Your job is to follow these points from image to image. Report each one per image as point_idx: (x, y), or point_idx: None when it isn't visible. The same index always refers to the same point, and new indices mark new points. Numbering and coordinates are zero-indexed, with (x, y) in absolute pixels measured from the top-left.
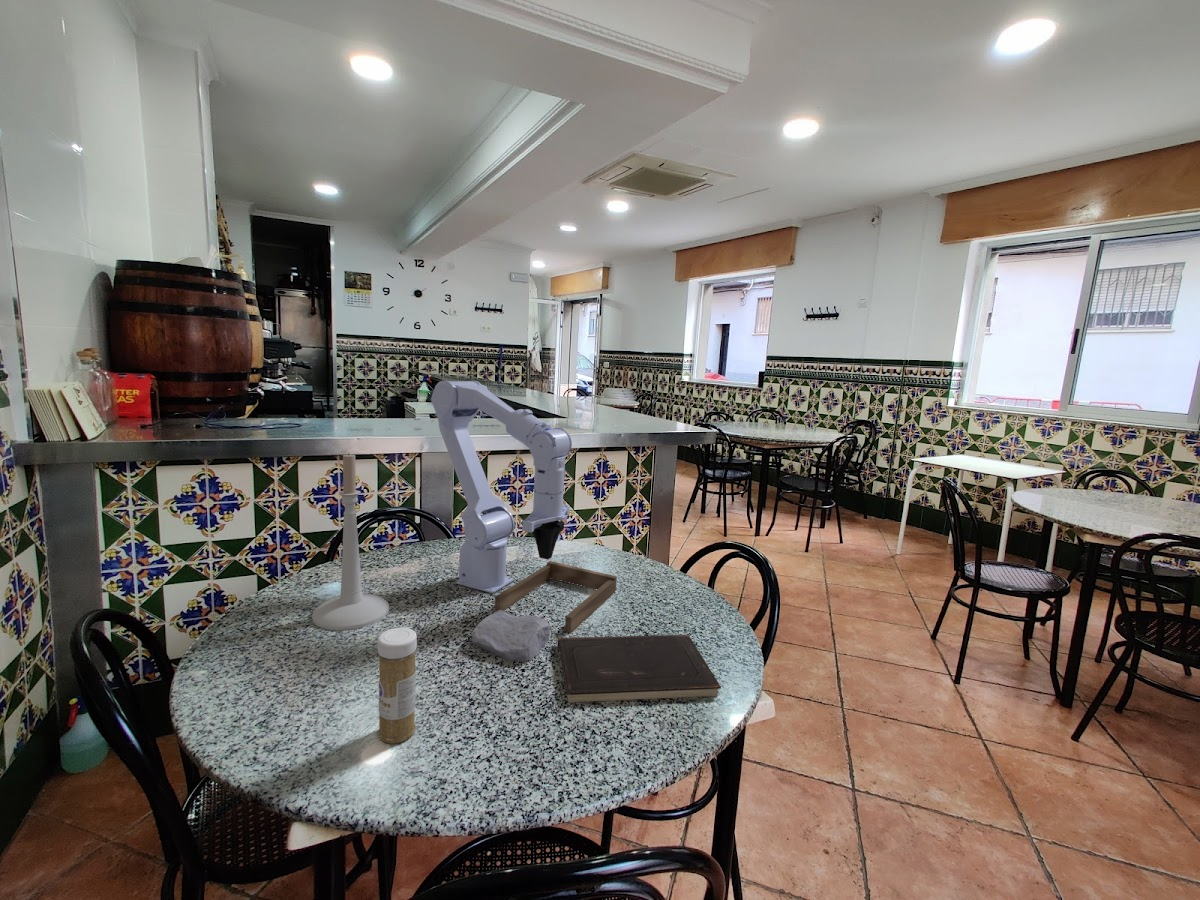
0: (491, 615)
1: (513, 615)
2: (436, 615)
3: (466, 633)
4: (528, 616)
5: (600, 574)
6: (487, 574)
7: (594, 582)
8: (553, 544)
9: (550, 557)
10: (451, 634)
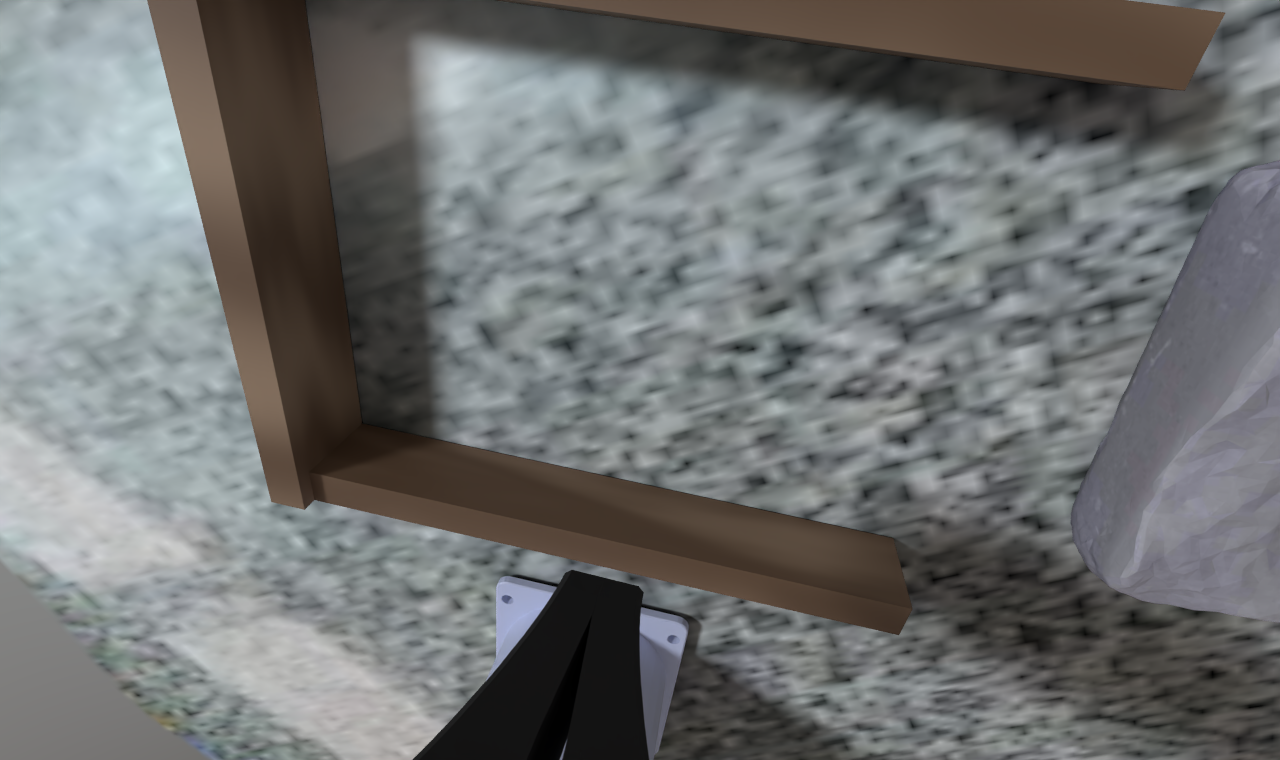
0: (1193, 597)
1: (1166, 486)
2: (985, 740)
3: (1173, 610)
4: (1270, 391)
5: (200, 71)
6: (646, 722)
7: (283, 120)
8: (539, 723)
9: (590, 580)
10: (1189, 659)
